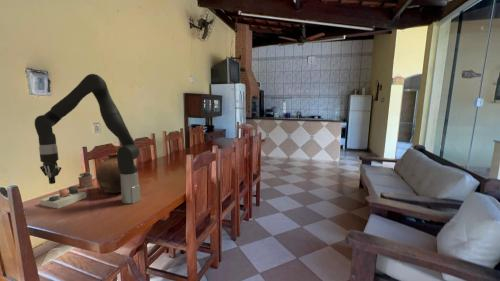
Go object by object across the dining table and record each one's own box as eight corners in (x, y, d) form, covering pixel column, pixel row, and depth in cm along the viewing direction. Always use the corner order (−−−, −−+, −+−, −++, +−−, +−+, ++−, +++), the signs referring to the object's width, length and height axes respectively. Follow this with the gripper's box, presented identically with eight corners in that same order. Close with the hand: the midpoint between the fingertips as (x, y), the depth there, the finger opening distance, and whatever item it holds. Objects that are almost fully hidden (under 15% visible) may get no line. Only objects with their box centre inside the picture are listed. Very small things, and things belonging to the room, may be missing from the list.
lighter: (91, 184, 167) (90, 170, 165) (93, 185, 165) (92, 171, 163) (78, 188, 160) (77, 173, 158) (80, 189, 158) (79, 174, 157)
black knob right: (79, 191, 145) (78, 186, 145) (72, 193, 141) (72, 188, 141) (74, 190, 146) (73, 185, 146) (67, 192, 143) (67, 187, 142)
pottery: (121, 199, 144) (119, 158, 140) (88, 195, 148) (85, 155, 145) (145, 186, 166) (143, 151, 162) (115, 183, 170) (113, 148, 167)
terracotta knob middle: (70, 194, 140) (69, 189, 140) (63, 197, 136) (62, 191, 136) (65, 193, 141) (64, 188, 141) (57, 196, 137) (57, 190, 137)
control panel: (86, 197, 145) (86, 192, 145) (57, 208, 130) (57, 203, 129) (70, 194, 149) (70, 189, 148) (40, 204, 133) (40, 199, 133)
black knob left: (60, 201, 135) (60, 196, 135) (53, 204, 131) (52, 199, 131) (55, 200, 136) (55, 195, 136) (47, 203, 133) (47, 198, 132)
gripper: (65, 151, 131) (68, 182, 134) (47, 150, 135) (50, 180, 137) (50, 154, 124) (54, 187, 126) (32, 152, 128) (36, 184, 130)
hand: (52, 183), depth 132 cm, fingers closed
